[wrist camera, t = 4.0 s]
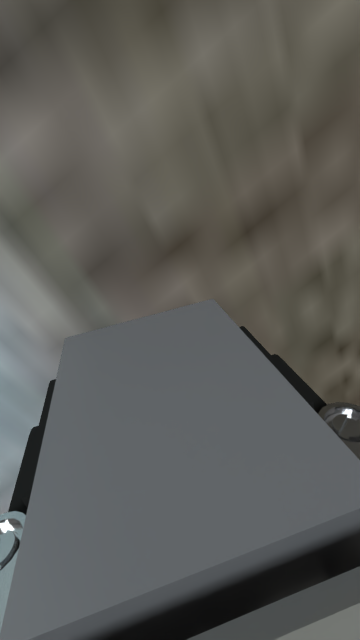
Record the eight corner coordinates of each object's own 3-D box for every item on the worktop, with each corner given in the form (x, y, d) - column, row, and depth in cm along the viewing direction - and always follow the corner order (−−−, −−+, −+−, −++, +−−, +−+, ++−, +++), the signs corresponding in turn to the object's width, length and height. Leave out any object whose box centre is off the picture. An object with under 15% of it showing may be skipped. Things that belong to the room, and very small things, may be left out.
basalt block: (212, 298, 10) (391, 495, 4) (226, 404, 12) (349, 628, 6) (65, 337, 9) (-4, 651, 3) (109, 441, 12) (119, 733, 6)
